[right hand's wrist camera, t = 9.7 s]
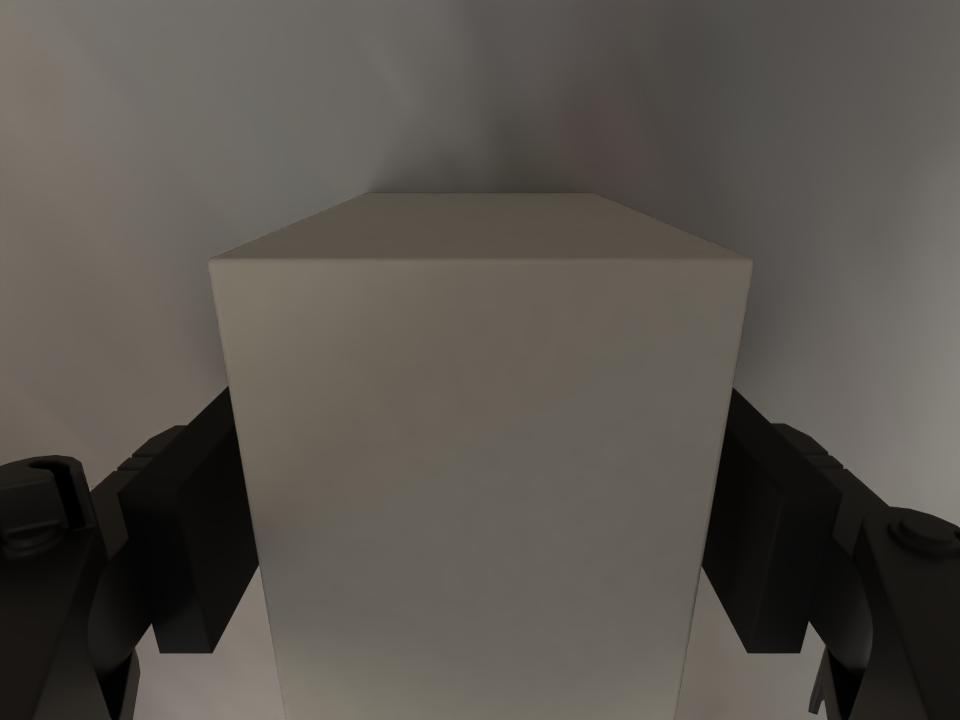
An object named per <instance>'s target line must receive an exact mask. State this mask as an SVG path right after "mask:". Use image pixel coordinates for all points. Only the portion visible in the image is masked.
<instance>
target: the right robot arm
mask: <svg viewBox="0 0 960 720" xmlns="http://www.w3.org/2000/svg"><path fill="white" fill-rule="evenodd" d="M258 565H259V560H258V554H257V548H256V542H255V536H254V530H253V525H252V519H251V513H250V507H249V501H248V495H247V490H246V484H245V478H244V472H243V466H242V460H241V455H240V449H239V443H238V437H237V431H236V425H235V420H234V414H233V408H232V402H231V396H230V390H229V386H228V387H227V388H226V389H225V390H224V391H223V392H222V393H221V394H219V395H218V396H217V397H216V398H215V399H214V400H213V401H212V402H211V403H210V404H209V405H208V406H207V407H206V408H205V409H204V410H203V411H202V412H201V413H200V414H199V415H198V416H197V417H196V418H195V419H193V420H192V421H191V422H190V423H189V424H188V425H176V426H174V427H172V428H170V429H168V430H166V431H164V432H162V433H160V434H158V435H156V436H154V437H152V438H150V439H149V440H148V441H147V442H146V443H144V444H143V445H142V446H141V447H140V448H139V449H138V450H137V451H136V452H134V453H133V454H132V458H128V459H127V460H125V461H124V462H123V463H122V464H121V465H120V466H119V467H118V468H117V471H113V472H112V473H111V474H110V475H109V476H108V477H106V478H105V479H104V480H103V481H102V482H101V483H100V484H99V485H97V486H96V487H95V488H94V489H93V490H92V491H91V492H90V491H89V487H88V484H87V481H86V477H85V474H84V470H83V467H82V463H81V462H79V461H78V460H76V459H75V458H73V457H68V456H59V455H51V456H40V457H32V458H28V459H24V460H19V461H15V462H11V463H8V464H5V465H2V466H0V720H133V715H134V709H135V702H136V696H137V690H138V684H139V678H140V667H139V660H138V657H137V653H136V650H135V646H136V645H137V644H138V642H139V641H140V639H141V638H142V636H143V635H144V633H145V632H146V630H147V629H148V627H149V626H150V625H151V623H152V626H153V629H154V633H155V637H156V640H157V644H158V648H159V652H160V653H213V651H214V649H215V647H216V645H217V644H218V642H219V640H220V638H221V636H222V634H223V632H224V630H225V628H226V626H227V624H228V623H229V621H230V619H231V617H232V615H233V613H234V611H235V609H236V607H237V605H238V604H239V602H240V600H241V598H242V596H243V594H244V592H245V590H246V588H247V586H248V585H249V583H250V581H251V579H252V577H253V575H254V573H255V571H256V569H257V567H258ZM702 567H703V569H704V571H705V573H706V575H707V577H708V579H709V581H710V583H711V585H712V586H713V588H714V590H715V592H716V594H717V596H718V598H719V600H720V602H721V604H722V605H723V607H724V609H725V611H726V613H727V615H728V617H729V619H730V621H731V623H732V625H733V626H734V628H735V630H736V632H737V634H738V636H739V638H740V640H741V642H742V644H743V645H744V647H745V649H746V651H747V653H800V652H801V648H802V644H803V640H804V637H805V633H806V629H807V626H808V622H809V621H810V623H811V624H812V626H813V627H814V629H815V630H816V632H817V633H818V634H819V636H820V637H821V639H822V640H823V642H824V643H825V645H826V646H825V650H824V653H823V657H822V660H821V663H820V667H819V670H818V674H817V677H816V681H815V684H814V688H813V691H812V695H811V698H810V704H809V711H808V712H810V713H814V714H818V711H819V707H820V704H821V701H823V700H824V701H825V707H826V713H827V719H828V720H960V528H959V527H958V526H956V525H954V524H952V523H950V522H947V521H945V520H943V519H941V518H938V517H936V516H934V515H931V514H927V513H923V512H920V511H916V510H912V509H908V508H898V507H889V506H888V505H887V504H886V503H885V502H884V501H883V500H882V499H880V498H879V497H878V496H877V495H876V494H875V493H874V492H873V491H871V490H870V489H869V488H868V487H867V486H866V485H865V484H863V483H862V482H861V481H860V480H859V479H858V478H857V477H856V476H854V475H853V474H852V473H851V472H850V471H849V470H848V469H843V465H842V464H841V463H840V462H839V461H838V460H836V459H835V458H834V457H833V456H829V455H828V452H827V451H826V450H825V449H824V448H823V447H822V446H821V445H819V444H818V443H817V442H816V441H815V440H814V439H813V438H812V437H810V436H808V435H806V434H804V433H802V432H800V431H798V430H796V429H795V428H793V427H791V426H789V425H787V424H785V423H770V422H769V421H768V420H767V419H765V418H764V417H763V416H762V415H761V414H760V413H759V412H758V411H757V410H756V409H755V408H754V407H753V406H752V405H751V404H750V403H749V402H748V401H747V400H746V399H745V398H744V397H743V396H742V395H741V394H739V393H738V392H737V391H736V390H735V389H734V388H732V393H731V399H730V405H729V411H728V416H727V422H726V428H725V434H724V439H723V445H722V451H721V457H720V462H719V468H718V474H717V480H716V485H715V491H714V497H713V503H712V508H711V514H710V520H709V526H708V531H707V537H706V543H705V549H704V554H703V560H702Z"/></svg>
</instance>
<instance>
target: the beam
mask: <svg viewBox="0 0 960 720" xmlns="http://www.w3.org/2000/svg"><path fill="white" fill-rule="evenodd" d="M753 267H754V264H753V260H752V259H750V258H748V257H745V256H743V255H740V254H738V253H736V252H733V251H731V250H729V249H726V248H724V247H721V246H719V245H717V244H714V243H712V242H709V241H707V240H705V239H702V238H700V237H697V236H695V235H693V234H690V233H688V232H686V231H683V230H681V229H678V228H676V227H674V226H671V225H669V224H666V223H664V222H662V221H659V220H657V219H655V218H652V217H650V216H647V215H645V214H643V213H640V212H638V211H635V210H633V209H631V208H628V207H626V206H624V205H621V204H619V203H616V202H614V201H612V200H609V199H607V198H604V197H602V196H600V195H597V194H595V193H365V194H363V195H360V196H358V197H356V198H353V199H351V200H348V201H346V202H344V203H341V204H339V205H337V206H334V207H332V208H330V209H327V210H325V211H322V212H320V213H318V214H315V215H313V216H311V217H308V218H306V219H304V220H301V221H299V222H296V223H294V224H292V225H289V226H287V227H285V228H282V229H280V230H278V231H275V232H273V233H270V234H268V235H266V236H263V237H261V238H259V239H256V240H254V241H251V242H249V243H247V244H244V245H242V246H240V247H237V248H235V249H233V250H230V251H228V252H225V253H223V254H221V255H218V256H216V257H214V258H211V259H209V262H208V268H209V274H210V279H211V285H212V291H213V297H214V303H215V309H216V314H217V320H218V326H219V332H220V338H221V344H222V350H223V355H224V361H225V367H226V373H227V379H228V385H229V390H230V396H231V402H232V408H233V414H234V420H235V425H236V431H237V437H238V443H239V449H240V455H241V460H242V466H243V472H244V478H245V484H246V490H247V495H248V501H249V507H250V513H251V519H252V525H253V530H254V536H255V542H256V548H257V554H258V560H259V565H260V571H261V577H262V583H263V589H264V595H265V600H266V606H267V612H268V618H269V624H270V630H271V635H272V641H273V647H274V653H275V659H276V665H277V670H278V676H279V682H280V688H281V694H282V700H283V705H284V711H285V717H286V720H675V716H676V710H677V704H678V698H679V693H680V687H681V681H682V675H683V670H684V664H685V658H686V652H687V647H688V641H689V635H690V629H691V624H692V618H693V612H694V606H695V601H696V595H697V589H698V583H699V578H700V572H701V566H702V560H703V554H704V549H705V543H706V537H707V531H708V526H709V520H710V514H711V508H712V503H713V497H714V491H715V485H716V480H717V474H718V468H719V462H720V457H721V451H722V445H723V439H724V434H725V428H726V422H727V416H728V411H729V405H730V399H731V393H732V388H733V382H734V376H735V370H736V364H737V359H738V353H739V347H740V341H741V336H742V330H743V324H744V318H745V313H746V307H747V301H748V295H749V290H750V284H751V278H752V272H753Z"/></svg>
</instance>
